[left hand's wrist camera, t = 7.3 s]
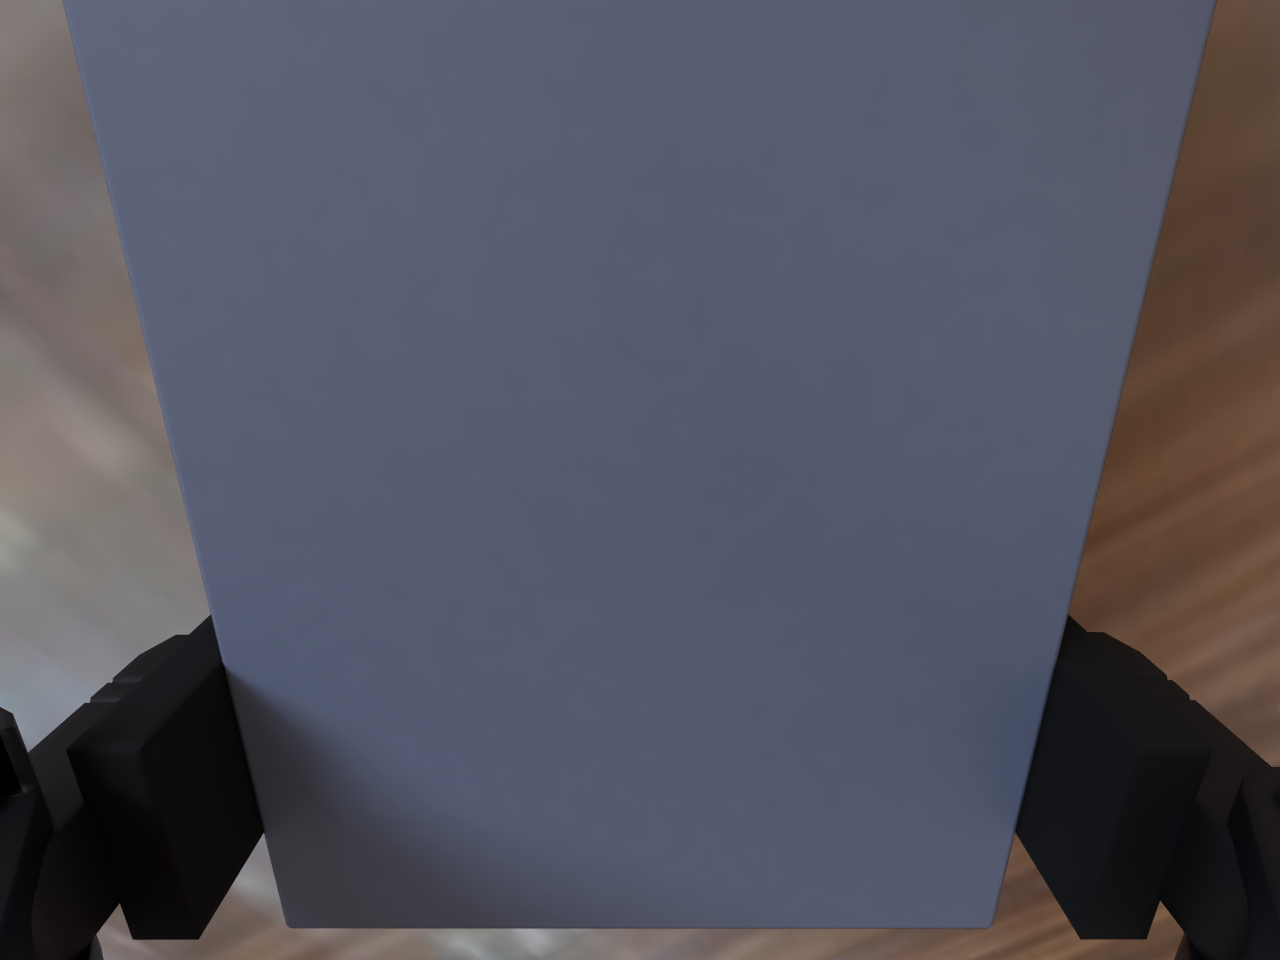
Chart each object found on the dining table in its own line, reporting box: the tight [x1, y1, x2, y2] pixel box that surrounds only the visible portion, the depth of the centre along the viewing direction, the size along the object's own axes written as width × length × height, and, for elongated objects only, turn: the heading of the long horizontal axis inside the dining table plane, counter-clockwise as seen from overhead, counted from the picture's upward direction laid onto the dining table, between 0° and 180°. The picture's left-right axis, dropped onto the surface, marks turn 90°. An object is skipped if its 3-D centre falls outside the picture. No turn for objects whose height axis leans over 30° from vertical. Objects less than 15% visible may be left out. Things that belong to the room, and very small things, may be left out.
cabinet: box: [62, 0, 1217, 929], centre depth 11 cm, size 21×10×10 cm, turn 0°
